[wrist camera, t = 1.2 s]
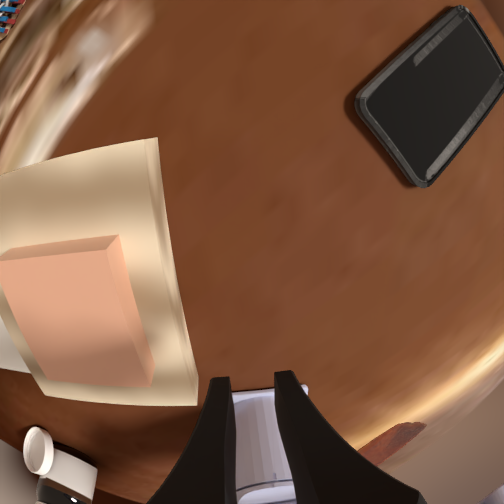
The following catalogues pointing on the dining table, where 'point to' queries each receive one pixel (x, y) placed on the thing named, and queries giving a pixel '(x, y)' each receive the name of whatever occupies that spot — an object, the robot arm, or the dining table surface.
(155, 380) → the block
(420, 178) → the phone
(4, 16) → the woven mat
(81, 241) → the tile
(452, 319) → the dining table surface
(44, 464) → the spread jar
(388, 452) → the wooden tablet
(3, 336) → the mat
